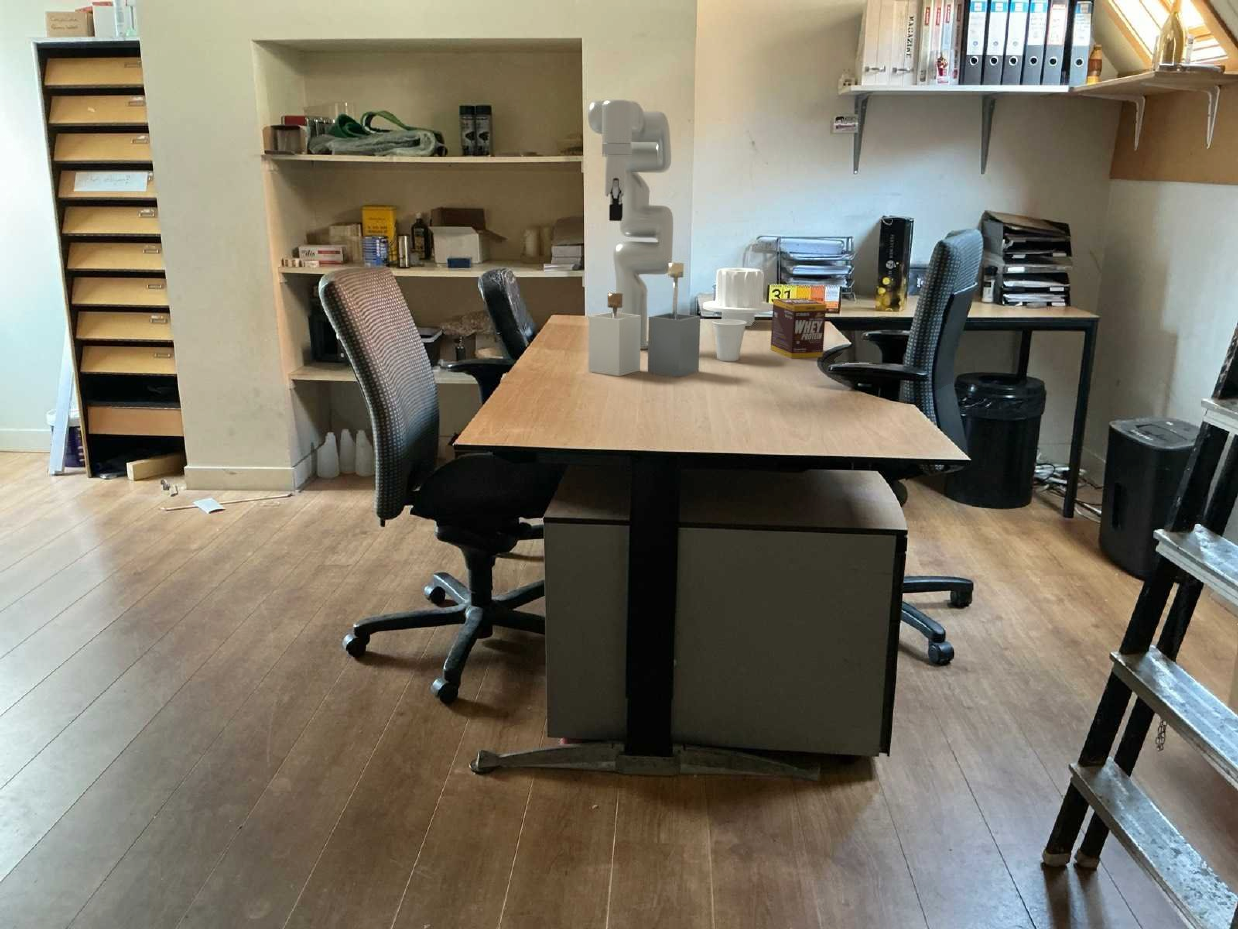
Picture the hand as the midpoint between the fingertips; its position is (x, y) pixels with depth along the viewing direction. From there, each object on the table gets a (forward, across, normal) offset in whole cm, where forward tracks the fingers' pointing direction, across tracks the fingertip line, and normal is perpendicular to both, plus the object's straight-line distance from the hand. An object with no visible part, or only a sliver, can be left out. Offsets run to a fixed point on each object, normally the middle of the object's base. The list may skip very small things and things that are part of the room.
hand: (615, 219), depth 269 cm
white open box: (+40, 0, 0) cm, 40 cm away
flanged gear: (+41, -88, +41) cm, 105 cm away
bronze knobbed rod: (+39, 0, 0) cm, 39 cm away
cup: (+40, -19, +32) cm, 55 cm away
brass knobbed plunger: (+30, 0, +16) cm, 34 cm away
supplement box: (+40, -31, +54) cm, 74 cm away
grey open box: (+40, 0, +16) cm, 43 cm away
